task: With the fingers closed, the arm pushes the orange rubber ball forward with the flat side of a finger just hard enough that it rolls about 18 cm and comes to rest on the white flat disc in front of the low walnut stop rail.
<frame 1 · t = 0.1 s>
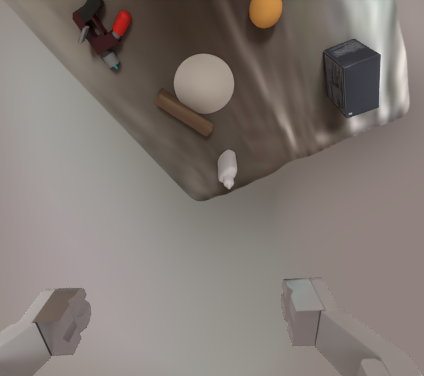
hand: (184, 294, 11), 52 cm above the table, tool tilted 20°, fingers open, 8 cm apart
toy gun: (112, 30, 50), on the table
stop rail: (185, 110, 61), on the table
white flat disc: (204, 85, 57), on the table
small box: (340, 68, 56), on the table
ball: (265, 9, 46), on the table
eye dropper bottle: (226, 156, 71), on the table
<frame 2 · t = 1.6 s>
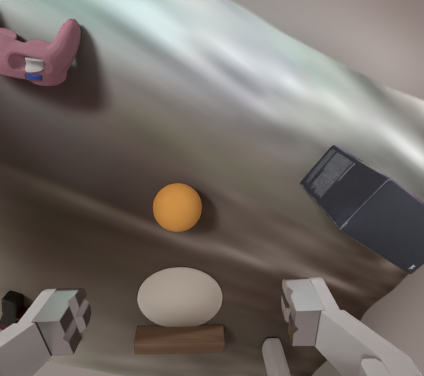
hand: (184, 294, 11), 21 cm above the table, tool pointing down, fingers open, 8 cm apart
toy gun: (49, 307, 41), on the table
stop rail: (180, 330, 44), on the table
video game controller: (31, 39, 25), on the table
white flat disc: (180, 299, 41), on the table
small box: (344, 183, 34), on the table
ball: (177, 207, 30), on the table
eye dropper bottle: (271, 345, 47), on the table
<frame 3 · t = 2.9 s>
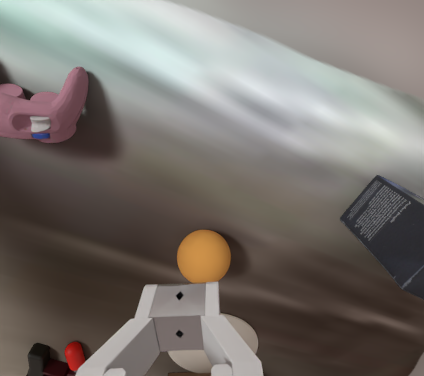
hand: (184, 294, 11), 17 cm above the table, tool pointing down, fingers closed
toy gun: (76, 357, 39), on the table
video game controller: (38, 91, 24), on the table
white flat disc: (212, 345, 38), on the table
small box: (392, 215, 29), on the table
ball: (203, 256, 28), on the table
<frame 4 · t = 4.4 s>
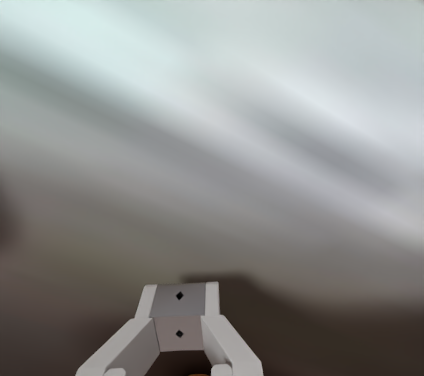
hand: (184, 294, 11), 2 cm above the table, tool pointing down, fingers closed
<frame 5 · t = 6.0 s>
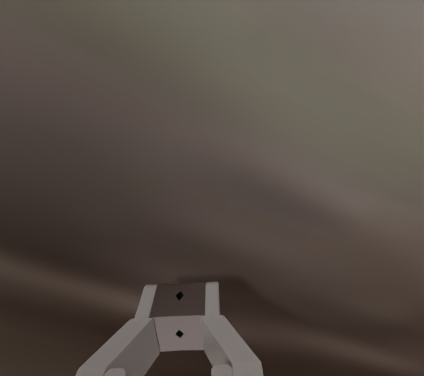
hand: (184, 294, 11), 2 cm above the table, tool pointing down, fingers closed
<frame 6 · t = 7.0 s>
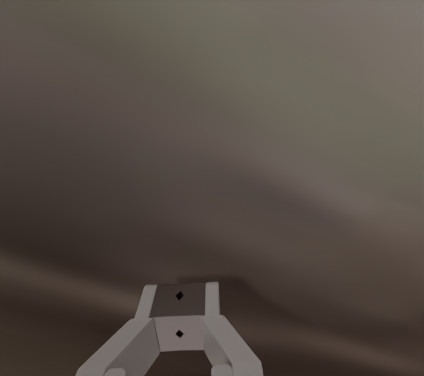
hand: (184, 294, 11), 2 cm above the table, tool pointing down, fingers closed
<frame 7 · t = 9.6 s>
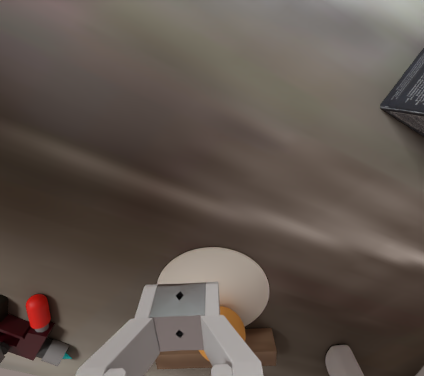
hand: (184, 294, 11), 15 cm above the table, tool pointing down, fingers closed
toy gun: (40, 315, 33), on the table
stop rail: (215, 336, 33), on the table
white flat disc: (212, 293, 30), on the table
ball: (220, 334, 29), on the table
eye dropper bottle: (337, 355, 35), on the table
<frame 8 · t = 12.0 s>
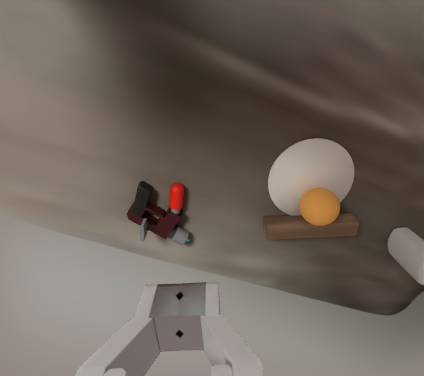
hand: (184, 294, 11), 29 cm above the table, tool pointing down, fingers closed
toy gun: (170, 206, 43), on the table
stop rail: (306, 220, 43), on the table
white flat disc: (310, 180, 40), on the table
ball: (319, 206, 39), on the table
eye dropper bottle: (396, 239, 45), on the table
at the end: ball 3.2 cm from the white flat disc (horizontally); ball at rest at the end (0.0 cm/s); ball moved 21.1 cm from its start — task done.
